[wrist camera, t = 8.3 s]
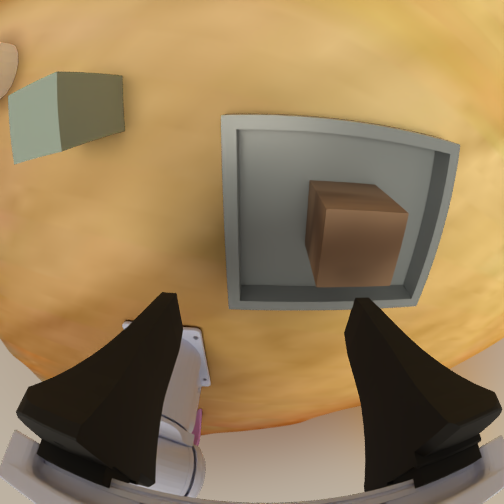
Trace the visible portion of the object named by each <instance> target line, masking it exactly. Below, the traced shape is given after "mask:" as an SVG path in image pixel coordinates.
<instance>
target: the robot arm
mask: <svg viewBox="0 0 504 504" xmlns="http://www.w3.org/2000/svg"><path fill="white" fill-rule="evenodd" d="M122 326H123V329H124V330H123V331H122V332H121V333H120V334H119V335H117V336H116V337H115V338H114V339H113V340H112V341H110V342H109V343H108V344H107V345H105V346H104V347H103V348H101V349H100V350H99V351H97V352H96V353H95V354H93V355H92V356H90V357H88V358H87V359H85V360H84V361H82V362H81V363H79V364H77V365H76V366H74V367H72V368H71V369H69V370H67V371H65V372H63V373H61V374H59V375H57V376H55V377H53V378H50V379H48V380H46V381H43V382H41V383H38V384H35V385H33V386H30V387H28V389H27V391H26V393H25V395H24V397H23V399H22V401H21V403H20V405H19V407H18V409H17V411H16V413H17V416H18V418H19V419H20V420H21V421H22V422H23V423H24V424H25V425H26V426H27V427H28V428H29V429H31V430H32V431H33V432H34V433H35V434H36V435H38V436H39V437H40V438H41V439H42V440H41V443H40V444H39V443H37V442H36V441H34V440H32V439H31V438H29V437H27V436H26V435H24V434H22V433H21V432H19V431H17V430H14V433H13V435H12V437H11V440H10V442H9V445H8V447H7V450H6V452H5V455H4V458H3V460H2V463H1V466H0V477H1V478H2V479H3V480H4V481H6V482H7V483H8V484H10V485H11V486H12V487H13V488H15V489H16V490H17V491H19V492H20V493H21V494H23V495H24V496H25V497H27V498H28V499H29V500H31V501H32V502H34V503H35V504H483V503H484V502H486V501H487V500H489V499H490V498H491V497H493V496H494V495H495V494H497V493H498V492H499V491H501V490H502V489H503V488H504V440H503V437H502V436H498V437H497V438H495V439H493V440H492V441H490V442H488V443H486V444H485V445H483V446H481V447H480V448H479V446H478V442H480V441H481V437H480V434H479V433H480V432H482V431H483V430H484V429H485V428H486V427H487V426H489V425H490V424H491V423H492V422H493V421H494V420H495V419H496V418H497V417H498V416H499V415H500V413H501V411H502V407H501V405H500V403H499V401H498V398H497V396H496V394H495V392H493V391H491V390H488V389H486V388H483V387H481V386H479V385H476V384H474V383H472V382H470V381H468V380H467V379H465V378H463V377H461V376H459V375H458V374H456V373H454V372H453V371H451V370H450V369H448V368H447V367H445V366H444V365H442V364H441V363H439V362H438V361H436V360H435V359H434V358H433V357H431V356H430V355H429V354H427V353H426V352H425V351H424V350H422V349H421V348H420V347H419V346H418V345H417V344H416V343H414V342H413V341H412V340H411V339H410V338H409V337H408V336H407V335H406V334H405V333H404V332H403V331H402V330H401V329H400V328H399V327H398V326H397V325H396V324H395V323H394V322H393V321H392V320H391V319H390V318H389V317H388V316H387V315H386V314H385V313H384V312H383V311H382V310H381V309H380V308H379V307H378V306H377V305H376V304H375V303H374V302H373V301H372V300H371V299H370V298H369V297H364V298H355V300H354V303H353V307H352V310H351V313H350V317H349V320H348V323H347V326H346V329H345V332H344V335H345V341H346V348H347V354H348V358H349V361H350V365H351V368H352V372H353V375H354V379H355V383H356V386H357V390H358V394H359V397H360V402H361V408H362V416H363V423H364V436H365V482H364V491H365V492H363V493H358V494H353V495H348V496H343V497H336V498H329V499H321V500H313V501H302V502H285V503H241V502H226V501H215V500H206V499H198V498H196V497H197V496H198V494H199V492H200V491H201V488H202V486H203V482H204V478H205V471H206V467H205V459H204V456H203V454H202V452H201V449H200V448H199V447H198V446H197V445H194V444H193V442H194V436H195V435H194V434H192V431H193V429H194V426H195V421H196V415H197V409H198V403H199V398H200V392H201V387H202V386H210V384H211V381H210V376H209V371H208V366H207V360H206V355H205V350H204V344H203V339H202V333H201V330H200V329H198V328H190V327H183V326H182V321H181V316H180V311H179V305H178V300H177V294H176V293H165V292H162V293H161V294H160V295H159V296H158V297H157V298H156V299H155V300H154V301H153V302H152V303H151V304H150V305H149V306H148V307H147V308H146V309H145V310H144V311H143V312H142V313H141V314H140V315H139V316H138V317H137V318H136V319H135V320H134V321H133V322H128V321H125V322H124V323H123V325H122ZM196 336H197V337H196Z"/></svg>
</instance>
